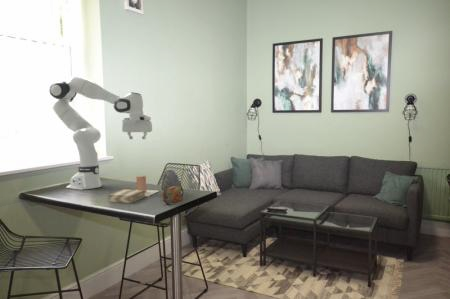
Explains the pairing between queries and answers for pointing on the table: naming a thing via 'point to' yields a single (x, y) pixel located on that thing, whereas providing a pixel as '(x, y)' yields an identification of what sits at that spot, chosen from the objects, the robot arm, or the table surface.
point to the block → (141, 182)
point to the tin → (172, 194)
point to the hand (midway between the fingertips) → (137, 139)
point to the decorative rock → (170, 180)
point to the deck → (127, 196)
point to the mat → (150, 192)
